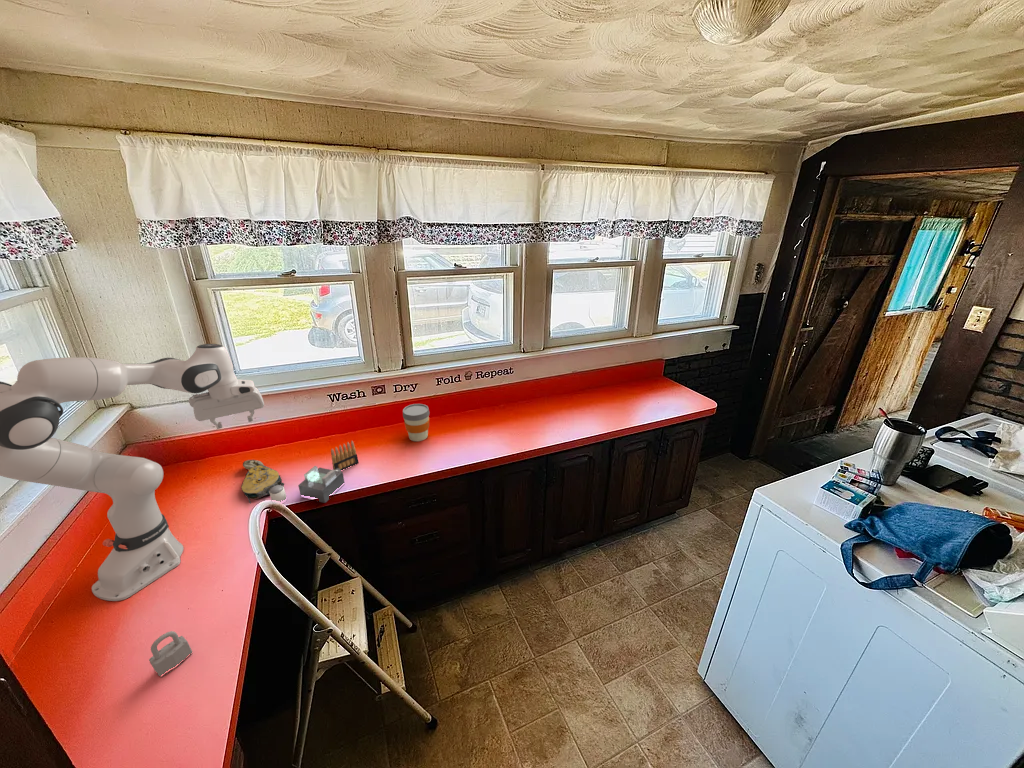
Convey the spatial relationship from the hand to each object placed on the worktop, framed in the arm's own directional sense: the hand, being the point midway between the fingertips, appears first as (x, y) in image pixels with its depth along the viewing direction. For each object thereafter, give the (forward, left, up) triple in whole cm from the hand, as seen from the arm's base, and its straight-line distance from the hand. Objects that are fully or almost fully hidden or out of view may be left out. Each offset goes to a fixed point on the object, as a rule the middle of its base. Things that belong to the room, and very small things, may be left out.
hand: (235, 424), depth 146 cm
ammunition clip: (+28, -19, -34) cm, 48 cm away
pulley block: (+10, +9, -34) cm, 37 cm away
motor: (+14, -20, -34) cm, 42 cm away
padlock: (-55, -29, -34) cm, 71 cm away
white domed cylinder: (+2, -8, -34) cm, 35 cm away
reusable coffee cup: (+60, -37, -34) cm, 78 cm away
